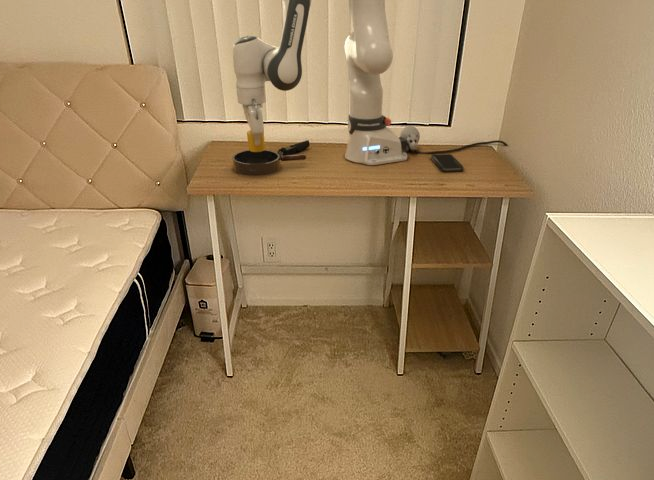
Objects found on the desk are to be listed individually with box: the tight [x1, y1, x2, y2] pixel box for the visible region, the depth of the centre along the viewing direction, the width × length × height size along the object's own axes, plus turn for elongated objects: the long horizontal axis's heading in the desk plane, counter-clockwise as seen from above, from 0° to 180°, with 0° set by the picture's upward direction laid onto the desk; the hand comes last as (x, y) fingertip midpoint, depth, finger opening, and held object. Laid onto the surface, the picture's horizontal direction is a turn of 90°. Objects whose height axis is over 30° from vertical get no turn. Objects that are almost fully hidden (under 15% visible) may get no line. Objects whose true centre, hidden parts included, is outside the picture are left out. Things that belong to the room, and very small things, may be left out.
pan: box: [231, 149, 281, 177], centre depth 187 cm, size 16×16×4 cm
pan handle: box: [280, 153, 307, 162], centre depth 189 cm, size 9×2×2 cm, turn 105°
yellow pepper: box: [246, 129, 266, 152], centre depth 183 cm, size 5×5×6 cm
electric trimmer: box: [276, 139, 310, 157], centre depth 202 cm, size 4×16×3 cm, turn 142°
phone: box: [430, 153, 464, 173], centre depth 194 cm, size 8×1×15 cm
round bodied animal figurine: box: [399, 125, 421, 153], centre depth 203 cm, size 7×12×8 cm, turn 5°
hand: (256, 141), depth 183 cm, fingers closed on yellow pepper, 5 cm apart
